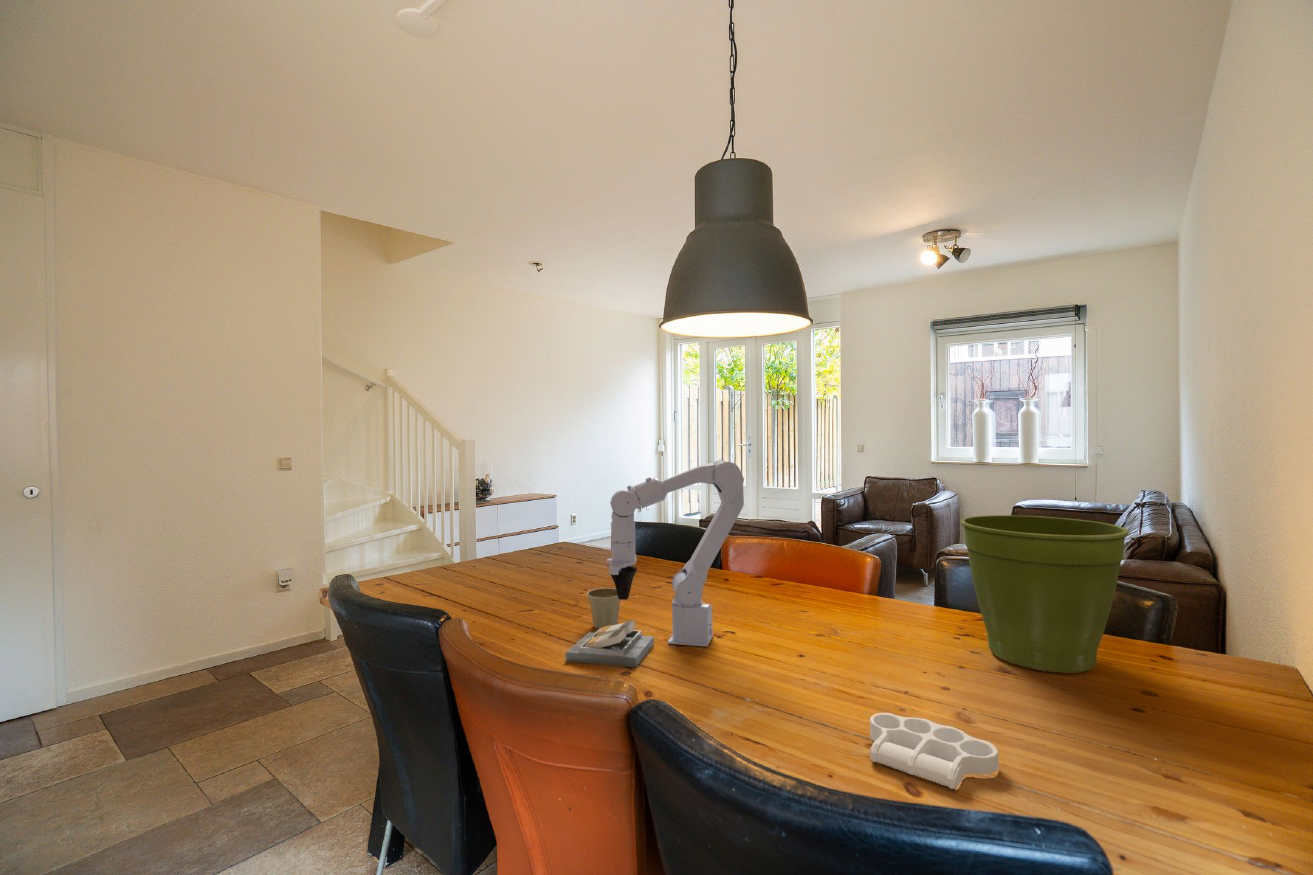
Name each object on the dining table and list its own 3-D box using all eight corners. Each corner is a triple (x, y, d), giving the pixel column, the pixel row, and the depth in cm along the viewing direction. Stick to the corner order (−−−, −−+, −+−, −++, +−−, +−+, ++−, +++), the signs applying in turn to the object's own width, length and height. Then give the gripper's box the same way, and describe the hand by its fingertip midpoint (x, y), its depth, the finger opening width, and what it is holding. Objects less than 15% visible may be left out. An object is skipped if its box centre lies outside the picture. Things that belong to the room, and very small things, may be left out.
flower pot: (622, 631, 148) (621, 597, 148) (584, 632, 148) (584, 597, 148) (625, 620, 157) (624, 587, 157) (589, 620, 157) (589, 588, 158)
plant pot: (962, 671, 120) (960, 529, 120) (963, 628, 146) (961, 512, 146) (1149, 699, 106) (1146, 539, 106) (1113, 646, 132) (1110, 518, 132)
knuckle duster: (848, 759, 88) (885, 723, 99) (982, 807, 77) (1007, 760, 88) (848, 737, 88) (884, 703, 99) (982, 781, 77) (1006, 737, 88)
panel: (653, 645, 138) (653, 631, 138) (636, 667, 124) (635, 652, 124) (589, 640, 142) (589, 626, 142) (565, 661, 129) (565, 646, 129)
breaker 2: (635, 627, 138) (633, 620, 138) (629, 633, 133) (628, 626, 134) (604, 633, 140) (602, 626, 140) (598, 640, 135) (596, 632, 136)
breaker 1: (626, 635, 131) (623, 628, 131) (619, 642, 127) (617, 634, 127) (594, 644, 133) (592, 637, 133) (587, 651, 129) (584, 644, 129)
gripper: (617, 535, 148) (617, 590, 148) (596, 545, 134) (596, 606, 134) (644, 536, 146) (644, 591, 146) (625, 547, 132) (626, 608, 132)
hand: (623, 598), depth 140 cm, fingers closed
